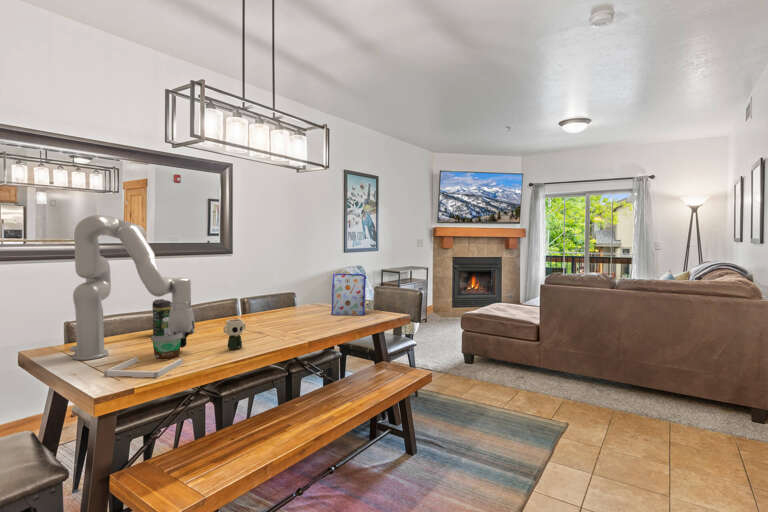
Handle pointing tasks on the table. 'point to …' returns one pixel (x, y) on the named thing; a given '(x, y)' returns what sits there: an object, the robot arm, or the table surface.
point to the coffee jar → (161, 317)
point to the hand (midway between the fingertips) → (182, 346)
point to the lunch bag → (348, 294)
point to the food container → (167, 346)
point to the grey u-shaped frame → (118, 372)
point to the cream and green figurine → (234, 332)
